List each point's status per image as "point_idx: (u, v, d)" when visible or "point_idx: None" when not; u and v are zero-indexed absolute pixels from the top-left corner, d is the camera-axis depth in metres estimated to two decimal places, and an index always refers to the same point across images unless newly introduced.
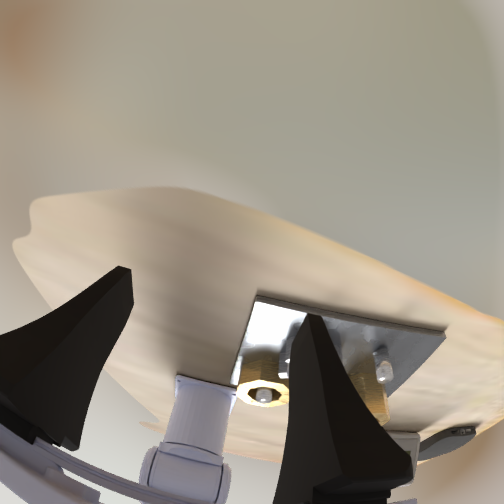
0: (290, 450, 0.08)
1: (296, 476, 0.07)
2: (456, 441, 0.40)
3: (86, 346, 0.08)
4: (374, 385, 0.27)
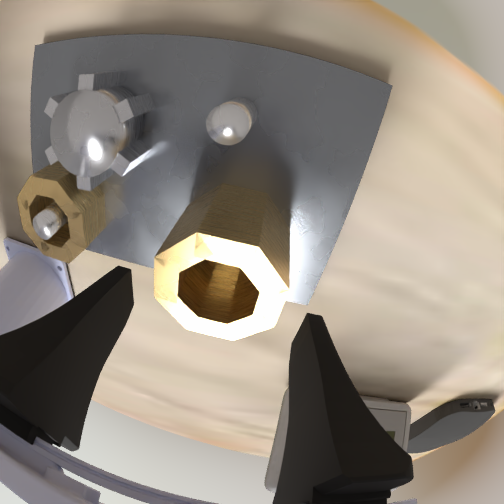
0: (290, 450, 0.08)
1: (296, 476, 0.07)
2: (467, 421, 0.27)
3: (86, 346, 0.08)
4: (244, 201, 0.14)
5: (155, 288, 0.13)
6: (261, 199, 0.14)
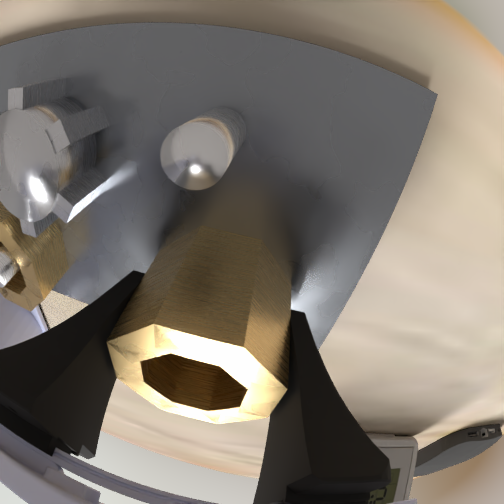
0: (270, 448, 0.08)
1: (273, 474, 0.07)
2: (474, 448, 0.23)
3: (104, 353, 0.08)
4: (228, 257, 0.10)
5: (115, 371, 0.09)
6: (252, 252, 0.10)
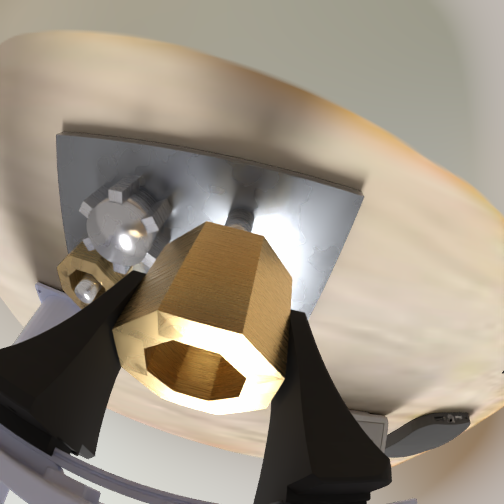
0: (270, 448, 0.08)
1: (274, 474, 0.07)
2: (442, 432, 0.32)
3: (104, 353, 0.08)
4: (231, 251, 0.10)
5: (120, 359, 0.09)
6: (255, 247, 0.11)
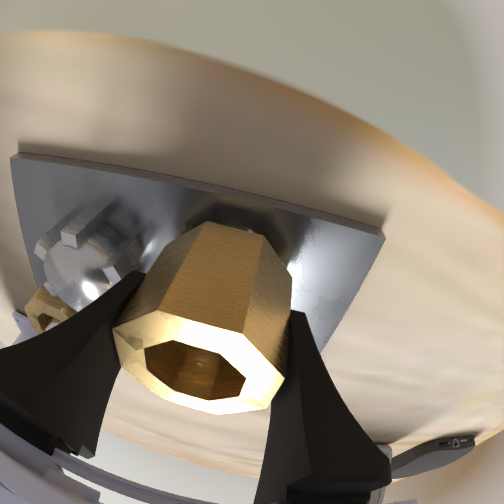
0: (270, 448, 0.08)
1: (274, 474, 0.07)
2: (447, 456, 0.28)
3: (104, 353, 0.08)
4: (231, 251, 0.10)
5: (120, 359, 0.09)
6: (255, 247, 0.11)
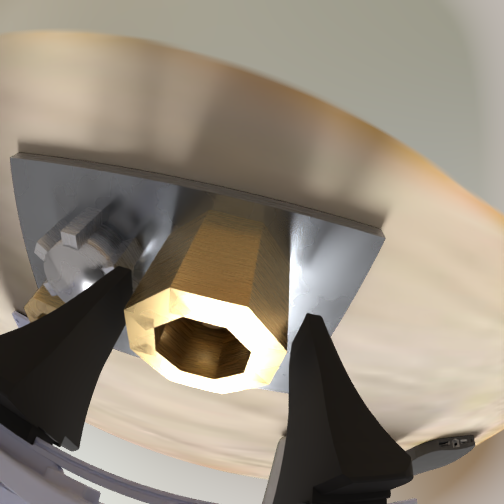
0: (290, 450, 0.08)
1: (296, 476, 0.07)
2: (447, 456, 0.28)
3: (86, 346, 0.08)
4: (233, 236, 0.11)
5: (129, 340, 0.10)
6: (255, 232, 0.12)
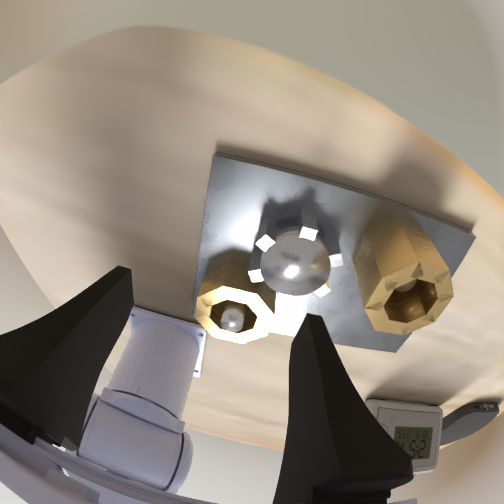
0: (290, 450, 0.08)
1: (296, 476, 0.07)
2: (478, 419, 0.34)
3: (86, 346, 0.08)
4: (418, 234, 0.17)
5: (368, 301, 0.16)
6: (423, 232, 0.17)
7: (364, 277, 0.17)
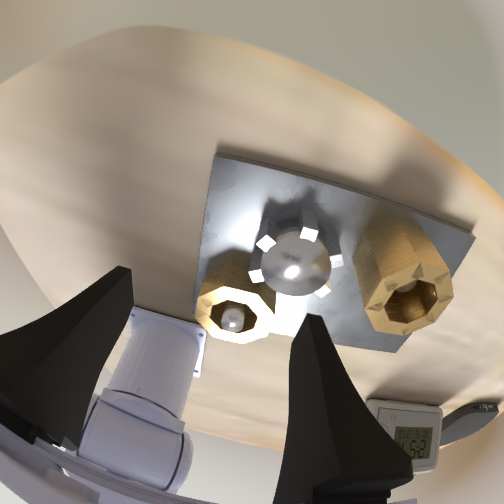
0: (290, 450, 0.08)
1: (296, 476, 0.07)
2: (478, 420, 0.34)
3: (86, 346, 0.08)
4: (418, 235, 0.17)
5: (369, 302, 0.16)
6: (423, 233, 0.17)
7: (364, 278, 0.17)
